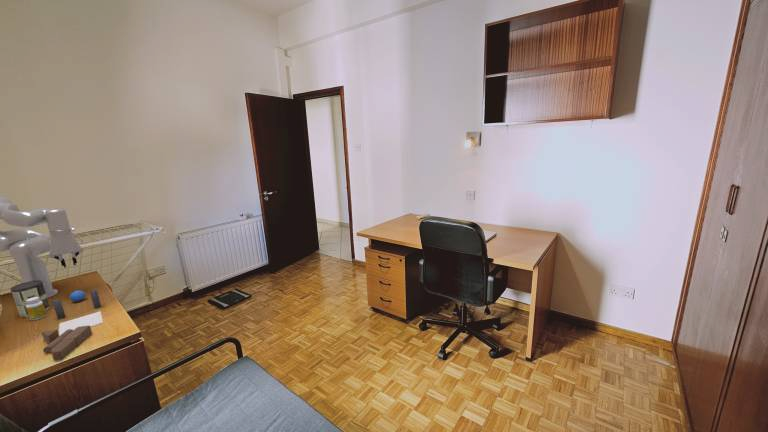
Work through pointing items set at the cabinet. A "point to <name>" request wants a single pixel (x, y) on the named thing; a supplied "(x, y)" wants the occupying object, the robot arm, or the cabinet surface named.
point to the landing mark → (81, 322)
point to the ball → (77, 296)
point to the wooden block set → (64, 341)
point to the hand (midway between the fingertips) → (70, 265)
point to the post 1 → (58, 308)
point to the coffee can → (29, 295)
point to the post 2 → (95, 298)
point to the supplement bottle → (35, 308)
